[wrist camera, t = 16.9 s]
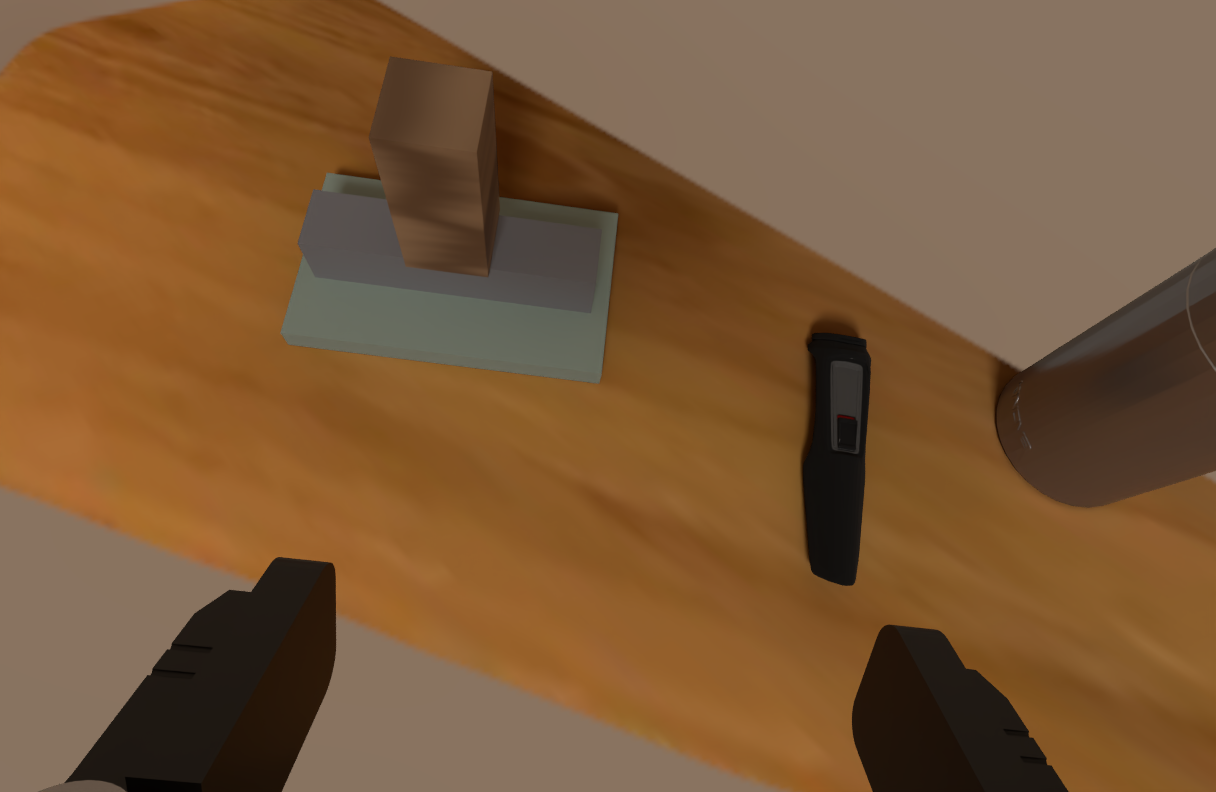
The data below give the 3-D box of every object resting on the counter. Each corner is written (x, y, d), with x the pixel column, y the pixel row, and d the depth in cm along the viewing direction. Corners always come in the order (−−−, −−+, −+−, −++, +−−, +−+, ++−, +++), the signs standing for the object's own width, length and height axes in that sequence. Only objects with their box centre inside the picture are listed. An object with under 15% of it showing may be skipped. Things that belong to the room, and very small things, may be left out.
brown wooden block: (499, 209, 41) (492, 71, 32) (488, 277, 40) (476, 152, 30) (420, 198, 41) (390, 56, 32) (405, 266, 39) (368, 137, 30)
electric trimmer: (787, 584, 41) (808, 578, 38) (804, 335, 46) (823, 312, 43) (853, 596, 41) (879, 590, 38) (861, 346, 47) (884, 324, 44)
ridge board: (615, 227, 48) (625, 177, 43) (599, 383, 43) (607, 347, 39) (333, 188, 46) (311, 133, 42) (288, 344, 42) (259, 302, 38)
